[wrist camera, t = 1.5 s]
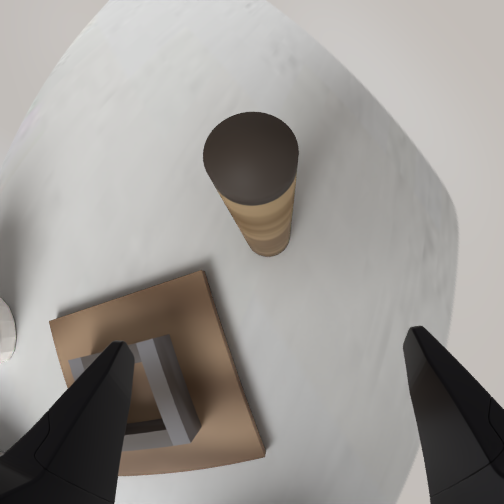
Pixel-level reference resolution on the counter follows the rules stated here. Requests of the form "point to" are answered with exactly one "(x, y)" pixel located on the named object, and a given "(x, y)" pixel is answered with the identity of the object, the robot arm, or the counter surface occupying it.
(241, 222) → the wooden peg
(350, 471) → the counter surface
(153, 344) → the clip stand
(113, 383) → the robot arm
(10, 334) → the white cup
